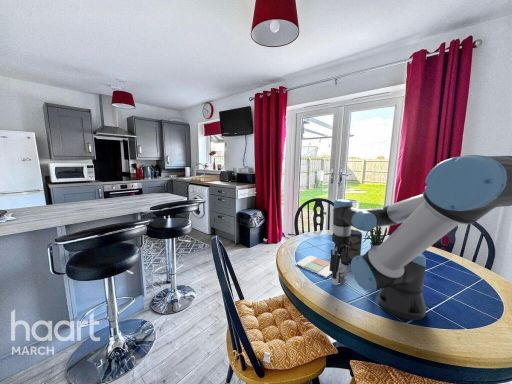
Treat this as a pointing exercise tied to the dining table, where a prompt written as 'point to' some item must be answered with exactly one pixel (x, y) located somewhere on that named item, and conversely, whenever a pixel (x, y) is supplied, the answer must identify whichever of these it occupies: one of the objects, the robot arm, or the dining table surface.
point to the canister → (355, 244)
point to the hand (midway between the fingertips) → (338, 280)
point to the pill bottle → (341, 273)
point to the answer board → (316, 265)
